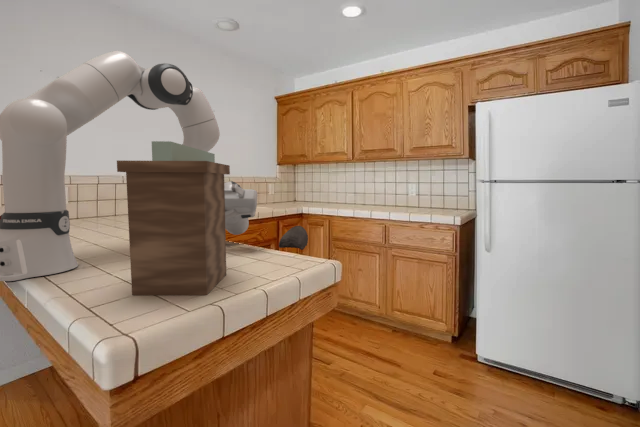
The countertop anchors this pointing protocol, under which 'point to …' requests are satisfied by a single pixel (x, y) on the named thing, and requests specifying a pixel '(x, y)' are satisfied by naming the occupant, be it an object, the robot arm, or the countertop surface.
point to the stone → (294, 238)
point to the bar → (178, 152)
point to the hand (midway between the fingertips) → (217, 186)
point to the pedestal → (176, 226)
